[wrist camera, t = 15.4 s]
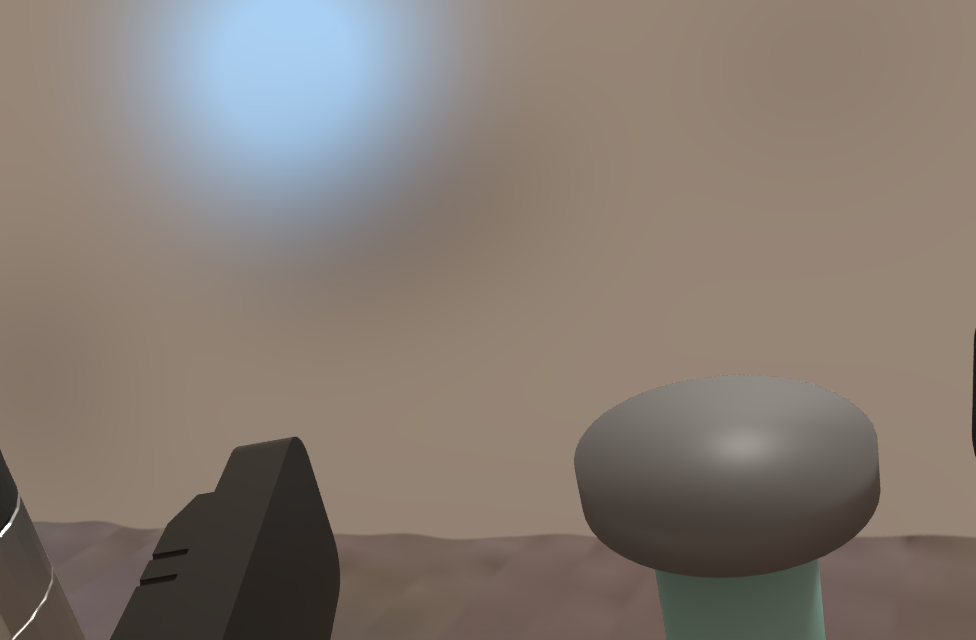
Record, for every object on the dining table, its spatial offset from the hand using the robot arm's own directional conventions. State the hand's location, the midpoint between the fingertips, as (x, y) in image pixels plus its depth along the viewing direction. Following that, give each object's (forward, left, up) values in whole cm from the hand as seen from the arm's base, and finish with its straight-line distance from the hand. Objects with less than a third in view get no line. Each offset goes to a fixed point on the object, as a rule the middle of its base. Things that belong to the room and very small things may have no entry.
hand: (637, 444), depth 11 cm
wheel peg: (+3, +10, -23) cm, 25 cm away
